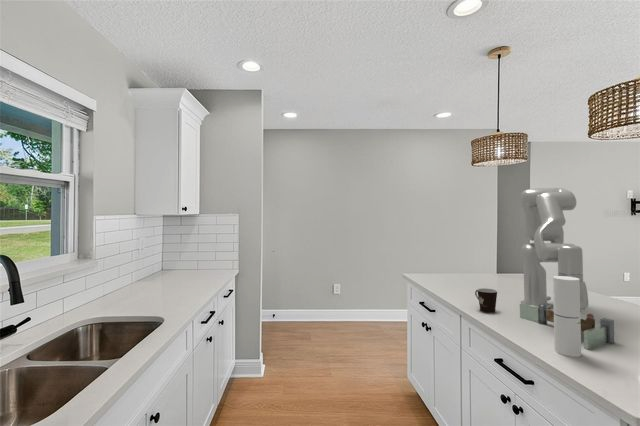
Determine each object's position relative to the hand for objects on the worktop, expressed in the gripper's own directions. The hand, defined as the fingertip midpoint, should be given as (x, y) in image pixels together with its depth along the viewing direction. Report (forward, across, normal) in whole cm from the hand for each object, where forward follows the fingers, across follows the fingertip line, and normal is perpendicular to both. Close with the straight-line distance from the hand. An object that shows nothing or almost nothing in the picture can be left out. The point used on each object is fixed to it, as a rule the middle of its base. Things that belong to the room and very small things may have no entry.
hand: (571, 326), depth 123 cm
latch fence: (+4, +1, -9) cm, 10 cm away
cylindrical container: (+4, -15, -12) cm, 19 cm away
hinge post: (+4, 0, +18) cm, 18 cm away
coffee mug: (+4, -10, +36) cm, 38 cm away
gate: (+3, +2, +3) cm, 5 cm away
